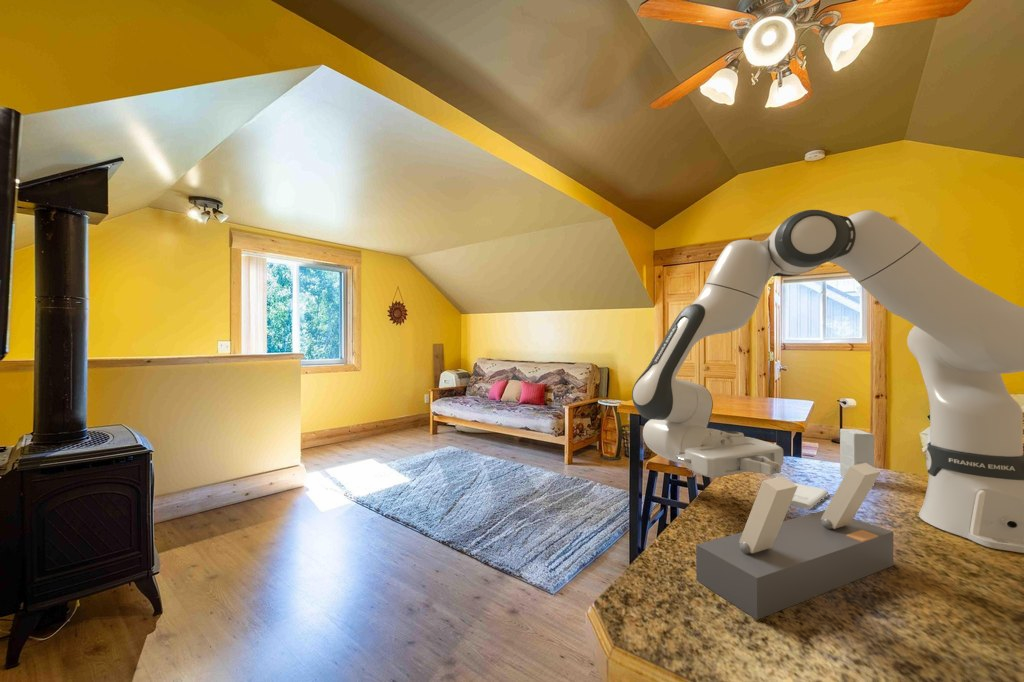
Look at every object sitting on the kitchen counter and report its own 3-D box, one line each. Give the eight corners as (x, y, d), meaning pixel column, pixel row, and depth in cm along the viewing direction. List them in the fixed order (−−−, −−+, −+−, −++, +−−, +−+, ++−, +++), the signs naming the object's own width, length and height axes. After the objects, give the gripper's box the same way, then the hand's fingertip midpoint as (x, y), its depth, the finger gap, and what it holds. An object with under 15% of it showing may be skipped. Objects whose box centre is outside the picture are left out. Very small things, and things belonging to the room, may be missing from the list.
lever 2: (817, 522, 63) (849, 466, 60) (835, 517, 65) (866, 462, 61) (831, 532, 62) (864, 475, 58) (848, 527, 64) (881, 471, 60)
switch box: (696, 580, 58) (696, 543, 58) (826, 539, 70) (826, 508, 70) (757, 619, 49) (756, 576, 49) (893, 565, 61) (893, 530, 62)
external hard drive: (828, 497, 90) (809, 512, 82) (785, 487, 96) (764, 500, 89) (828, 490, 90) (809, 504, 82) (785, 480, 96) (764, 492, 89)
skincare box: (875, 486, 95) (875, 434, 95) (854, 485, 96) (853, 433, 96) (859, 477, 101) (858, 429, 101) (839, 476, 102) (838, 428, 102)
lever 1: (736, 546, 56) (761, 480, 53) (758, 540, 58) (784, 476, 55) (749, 558, 54) (776, 490, 51) (771, 551, 56) (798, 485, 53)
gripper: (669, 439, 80) (733, 457, 67) (742, 430, 88) (811, 445, 76) (669, 472, 80) (733, 496, 67) (742, 460, 88) (811, 480, 76)
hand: (775, 469), depth 71 cm, fingers closed
